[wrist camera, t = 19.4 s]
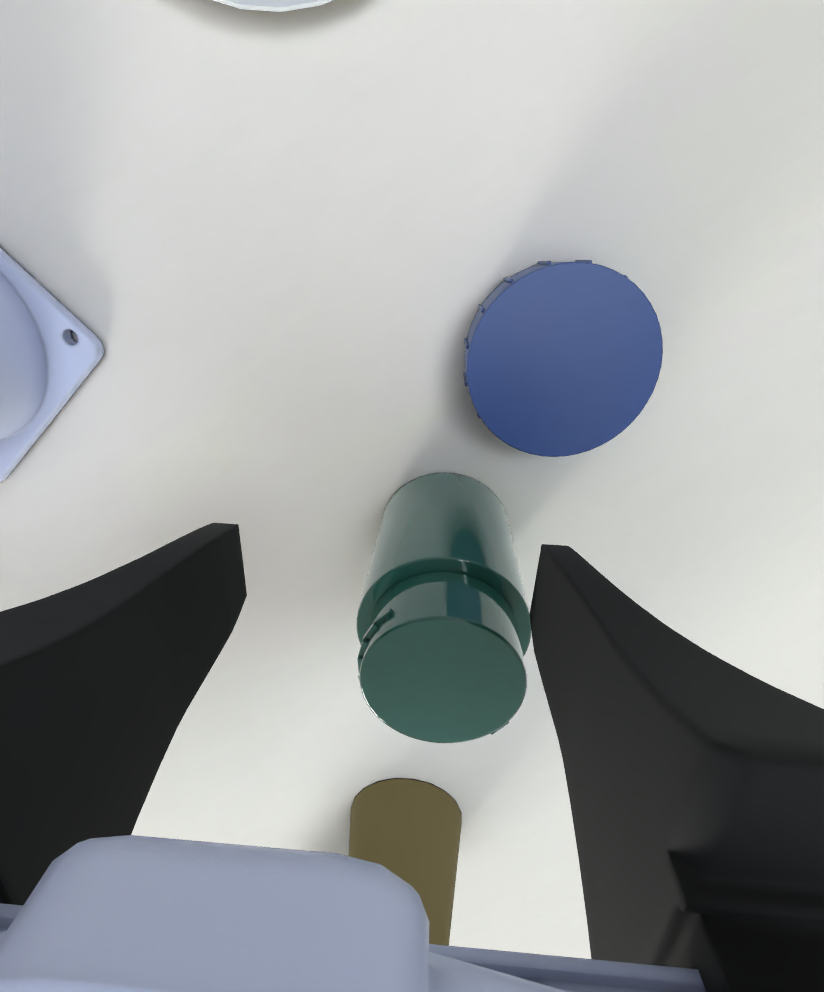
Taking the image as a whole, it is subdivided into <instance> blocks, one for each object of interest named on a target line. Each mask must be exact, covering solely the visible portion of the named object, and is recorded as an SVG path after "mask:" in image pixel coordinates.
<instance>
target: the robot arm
mask: <svg viewBox="0 0 824 992" xmlns="http://www.w3.org/2000/svg"><path fill="white" fill-rule="evenodd" d="M71 330H72V331H74V332H75V333H76V334H77V336H78V342H77V343H76V342H75V341H74V340H73V339H72V338H71V334H70V333H71ZM103 354H104V348H103V345H102V343H101V341H100V340H99V339H98V337H97V336H95V335H94V334H93V333H92V332H91V331H90V330H89V329H88V328H87V327H86V326H85V325H84V324H82V323H81V322H80V321H79V320H78V319H77V318H76V317H75V316H74V315H73V314H72V313H71V312H69V311H68V310H67V309H66V308H65V307H64V306H63V305H62V304H61V303H60V302H59V301H58V300H57V299H55V298H54V297H53V296H52V295H51V294H50V293H49V292H48V291H47V290H46V289H45V288H44V287H42V286H41V285H40V284H39V283H38V282H37V281H36V280H35V279H34V278H33V277H32V276H31V275H29V274H28V273H27V272H26V271H25V270H24V269H23V268H22V267H21V266H20V265H19V264H18V263H16V262H15V261H14V260H13V259H12V258H11V257H10V256H9V255H8V254H7V253H6V252H5V251H3V250H2V249H1V248H0V482H2V481H4V480H5V479H6V478H7V477H8V476H9V474H10V473H11V472H12V471H13V469H14V468H15V467H16V466H17V464H18V463H19V462H20V460H21V459H22V458H23V457H24V455H25V454H26V453H27V452H28V450H29V449H30V448H31V447H32V445H33V444H34V443H35V442H36V440H37V439H38V438H39V437H40V435H41V434H42V433H43V431H44V430H45V429H46V428H47V426H48V425H49V424H50V423H51V421H52V420H53V419H54V418H55V416H56V415H57V414H58V413H59V411H60V410H61V409H62V408H63V406H64V405H65V404H66V402H67V401H68V400H69V399H70V397H71V396H72V395H73V394H74V392H75V391H76V390H77V389H78V387H79V386H80V385H81V384H82V382H83V381H84V380H85V379H86V377H87V376H88V375H89V373H90V372H91V371H92V370H93V368H94V367H95V366H96V365H97V363H98V362H99V361H100V360H101V358H102V356H103ZM246 596H247V593H246V585H245V576H244V568H243V560H242V551H241V543H240V534H239V526H238V524H223V523H212V524H209V525H206V526H204V527H202V528H199V529H197V530H195V531H193V532H191V533H189V534H187V535H185V536H183V537H181V538H179V539H177V540H175V541H173V542H171V543H169V544H167V545H165V546H163V547H161V548H159V549H157V550H155V551H153V552H151V553H149V554H147V555H145V556H143V557H141V558H139V559H137V560H134V561H132V562H130V563H128V564H126V565H124V566H121V567H119V568H117V569H115V570H113V571H110V572H108V573H106V574H104V575H102V576H100V577H97V578H95V579H93V580H90V581H88V582H85V583H83V584H80V585H78V586H75V587H73V588H70V589H68V590H65V591H62V592H60V593H57V594H54V595H51V596H49V597H46V598H43V599H40V600H37V601H34V602H31V603H28V604H25V605H21V606H18V607H15V608H12V609H8V610H5V611H2V612H0V992H824V709H822V708H820V707H817V706H815V705H813V704H811V703H808V702H806V701H804V700H802V699H799V698H797V697H795V696H793V695H791V694H788V693H786V692H784V691H782V690H780V689H777V688H775V687H773V686H771V685H769V684H767V683H765V682H763V681H761V680H759V679H757V678H755V677H753V676H751V675H749V674H747V673H745V672H744V671H742V670H740V669H738V668H736V667H734V666H732V665H731V664H729V663H727V662H725V661H723V660H721V659H719V658H718V657H716V656H714V655H712V654H711V653H709V652H707V651H706V650H704V649H702V648H701V647H699V646H697V645H696V644H694V643H693V642H691V641H690V640H688V639H686V638H685V637H683V636H682V635H680V634H679V633H677V632H675V631H674V630H672V629H671V628H669V627H668V626H666V625H665V624H664V623H662V622H661V621H659V620H658V619H657V618H655V617H654V616H653V615H651V614H650V613H649V612H647V611H646V610H645V609H643V608H642V607H641V606H639V605H638V604H637V603H635V602H634V601H633V600H632V599H630V598H629V597H628V596H627V595H625V594H624V593H623V592H622V591H620V590H619V589H618V588H617V587H616V586H614V585H613V584H612V583H611V582H610V581H609V580H607V579H606V578H605V577H604V576H603V575H602V574H601V573H599V572H598V571H597V570H596V569H595V568H594V567H593V566H591V565H590V564H589V563H588V562H587V561H586V560H585V559H584V558H582V557H581V556H580V555H579V554H578V553H577V552H575V551H574V550H573V549H572V548H570V547H569V546H561V545H545V544H542V546H541V552H540V558H539V563H538V569H537V575H536V581H535V586H534V592H533V598H532V604H531V609H530V623H531V631H532V639H533V646H534V653H535V656H536V660H537V664H538V668H539V671H540V675H541V679H542V682H543V686H544V690H545V693H546V697H547V700H548V704H549V707H550V711H551V715H552V718H553V722H554V725H555V729H556V733H557V736H558V740H559V744H560V749H561V753H562V757H563V762H564V768H565V774H566V780H567V786H568V792H569V797H570V803H571V810H572V816H573V823H574V829H575V836H576V843H577V849H578V856H579V863H580V871H581V878H582V886H583V893H584V900H585V908H586V915H587V924H588V932H589V941H590V949H591V958H592V959H583V958H572V957H562V956H551V955H540V954H530V953H519V952H509V951H498V950H488V949H477V948H466V947H456V946H445V945H435V944H429V920H428V917H427V914H426V911H425V909H424V906H423V903H422V901H421V898H420V895H419V894H418V893H417V891H416V890H415V889H414V888H413V887H412V886H411V885H410V884H408V883H407V882H405V881H404V880H402V879H401V878H400V877H398V876H397V875H395V874H394V873H392V872H391V871H390V870H388V869H387V868H385V867H384V866H382V865H381V864H377V863H373V862H369V861H365V860H361V859H357V858H353V857H349V856H345V855H341V854H337V853H326V852H314V851H303V850H292V849H280V848H269V847H258V846H247V845H235V844H224V843H213V842H202V841H190V840H179V839H168V838H156V837H145V836H134V835H131V834H132V831H133V828H134V826H135V823H136V821H137V818H138V816H139V813H140V811H141V809H142V806H143V804H144V802H145V799H146V797H147V794H148V792H149V790H150V787H151V785H152V783H153V780H154V778H155V776H156V773H157V771H158V769H159V766H160V764H161V762H162V760H163V758H164V755H165V753H166V751H167V749H168V746H169V744H170V742H171V740H172V738H173V735H174V733H175V731H176V729H177V727H178V725H179V723H180V721H181V719H182V718H183V716H184V714H185V712H186V710H187V708H188V707H189V705H190V703H191V701H192V700H193V698H194V696H195V695H196V693H197V691H198V690H199V688H200V686H201V684H202V683H203V681H204V679H205V678H206V676H207V674H208V673H209V671H210V669H211V667H212V666H213V664H214V662H215V661H216V659H217V657H218V655H219V654H220V652H221V650H222V648H223V647H224V645H225V643H226V642H227V640H228V638H229V636H230V634H231V633H232V631H233V628H234V626H235V624H236V621H237V619H238V617H239V614H240V612H241V609H242V606H243V604H244V601H245V599H246Z"/></svg>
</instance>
